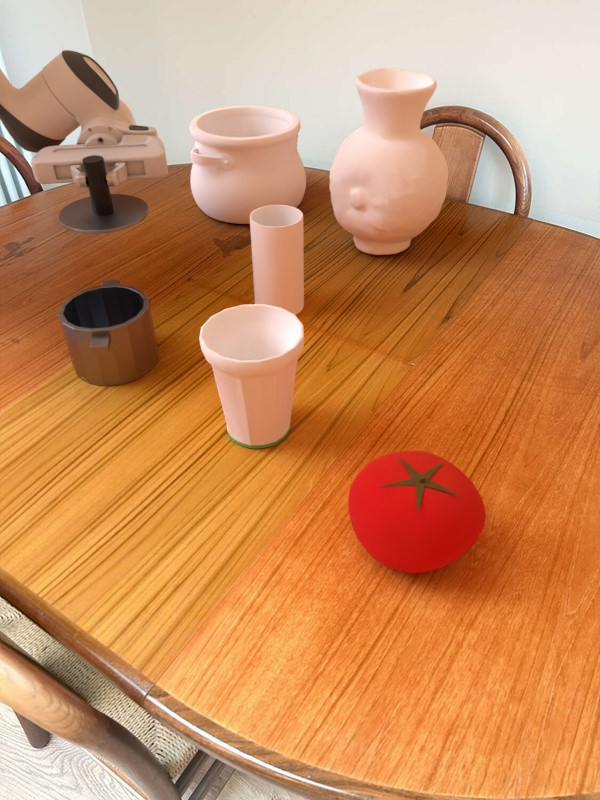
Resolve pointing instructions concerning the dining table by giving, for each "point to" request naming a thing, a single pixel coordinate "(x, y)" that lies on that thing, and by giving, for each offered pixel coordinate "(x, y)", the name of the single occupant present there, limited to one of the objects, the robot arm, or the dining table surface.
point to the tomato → (415, 511)
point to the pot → (245, 161)
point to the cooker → (109, 333)
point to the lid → (101, 205)
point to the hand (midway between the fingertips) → (96, 182)
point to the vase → (389, 164)
